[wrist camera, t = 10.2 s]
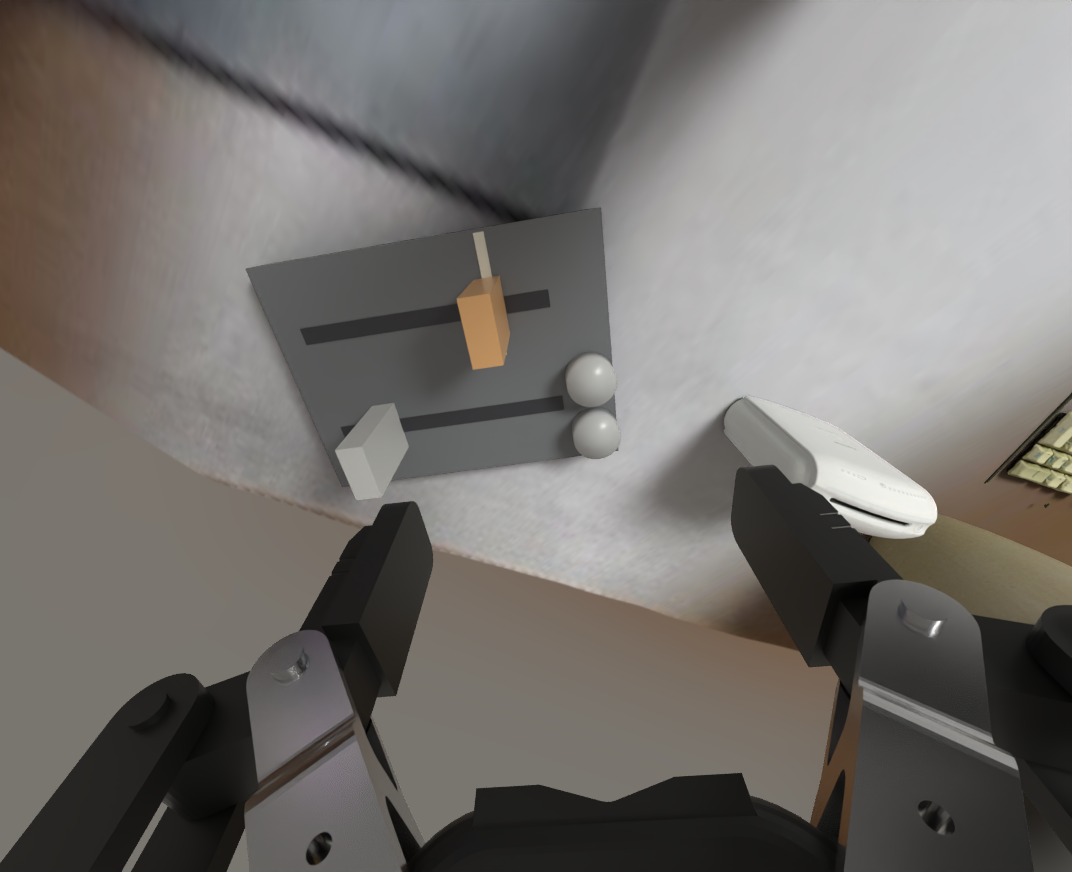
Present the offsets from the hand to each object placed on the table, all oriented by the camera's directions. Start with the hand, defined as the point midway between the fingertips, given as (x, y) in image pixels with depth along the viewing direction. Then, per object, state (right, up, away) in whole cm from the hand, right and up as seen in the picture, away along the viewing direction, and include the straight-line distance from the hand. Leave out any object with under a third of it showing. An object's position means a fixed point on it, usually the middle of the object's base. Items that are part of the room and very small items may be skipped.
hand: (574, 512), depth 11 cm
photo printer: (+20, +3, +26) cm, 33 cm away
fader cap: (-4, +11, +19) cm, 22 cm away
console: (-7, +8, +23) cm, 25 cm away
